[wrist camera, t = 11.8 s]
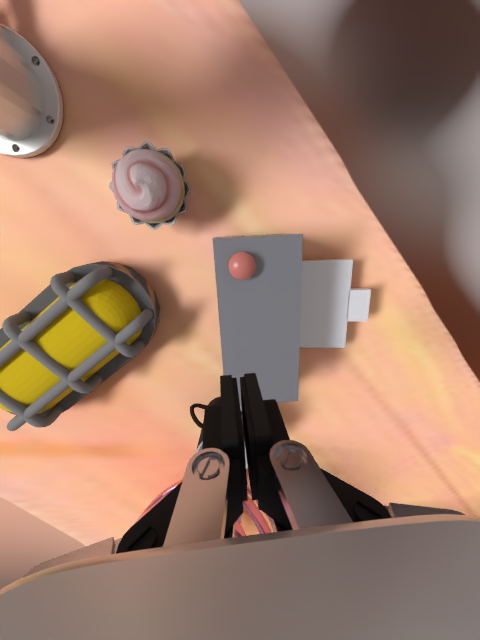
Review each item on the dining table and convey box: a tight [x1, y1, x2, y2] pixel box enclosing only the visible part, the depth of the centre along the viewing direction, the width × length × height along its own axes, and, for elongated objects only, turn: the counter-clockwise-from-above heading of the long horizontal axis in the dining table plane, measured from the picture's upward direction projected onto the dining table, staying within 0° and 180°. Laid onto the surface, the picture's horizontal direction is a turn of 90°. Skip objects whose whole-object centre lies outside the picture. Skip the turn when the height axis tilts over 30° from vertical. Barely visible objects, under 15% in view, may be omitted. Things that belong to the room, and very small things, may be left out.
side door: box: [300, 259, 371, 348], centre depth 40 cm, size 14×1×13 cm
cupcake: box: [109, 141, 190, 230], centre depth 30 cm, size 9×9×10 cm
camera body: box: [213, 234, 303, 411], centre depth 36 cm, size 25×10×11 cm, turn 3°
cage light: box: [0, 261, 160, 431], centre depth 37 cm, size 15×8×30 cm
